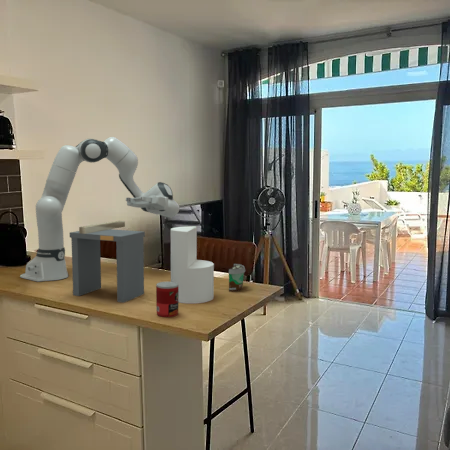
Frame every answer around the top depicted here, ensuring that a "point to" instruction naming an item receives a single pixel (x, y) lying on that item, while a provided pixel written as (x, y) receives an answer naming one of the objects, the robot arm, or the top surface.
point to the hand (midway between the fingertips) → (134, 198)
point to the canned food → (167, 299)
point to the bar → (101, 227)
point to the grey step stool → (91, 262)
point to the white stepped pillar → (190, 267)
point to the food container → (236, 278)
